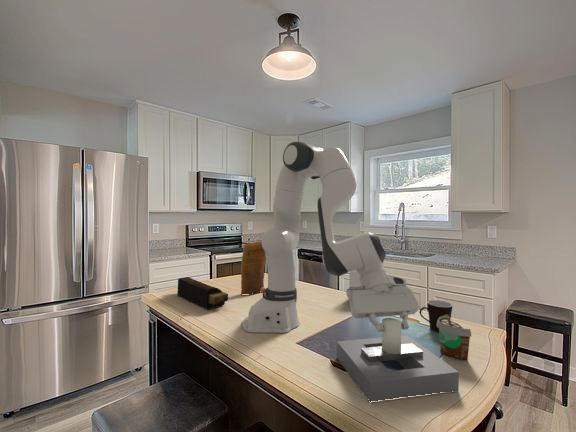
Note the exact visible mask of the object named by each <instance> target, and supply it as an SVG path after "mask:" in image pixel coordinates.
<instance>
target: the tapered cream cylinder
mask: <svg viewBox="0 0 576 432" xmlns="http://www.w3.org/2000/svg"><path fill="white" fill-rule="evenodd" d="M401 322H402V321H401V320H400V319H397V318H392V317H386V318H382V320H381V323H382V324H383V327H384V330H383V331H382V332H381V338H382V350H383V351H385V352H387V353H390V354H399V353H401V336H402V329H401Z"/></svg>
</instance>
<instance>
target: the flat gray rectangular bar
mask: <svg viewBox="0 0 576 432" xmlns="http://www.w3.org/2000/svg"><path fill="white" fill-rule="evenodd" d="M361 354H362V355H363V356H364V357H365V358H366V359H367V360H368V361H369V362H378V361H380V362H385V361H396V360H397V359H407V358H417V357H423V351H422V350H420V349H419V348H418V347H416V346H415V345H414V344H401V353H399V354H390V353H387V352H385V351H383V350H382V346H379V347H368V348H361Z"/></svg>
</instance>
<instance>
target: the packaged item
mask: <svg viewBox="0 0 576 432" xmlns="http://www.w3.org/2000/svg"><path fill="white" fill-rule="evenodd" d="M177 297H178V298H180V299H183V300H185V301H186V302H189V303H192V304H193V305H195V306H198V307H200V308H202V309H204V310H207V311H208V310H211V309H214V308H219V307H222V306H224V305H225V304H226V302H227V301H229V294H228V293H226V292H224V291H222V289H220V288H218V287H215V286H211V285H209V284H206V283H204V282H201V281H198V280H197V279H193V278H192V277H189V276H186V277H180V278H178V279H177Z"/></svg>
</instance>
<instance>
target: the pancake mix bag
mask: <svg viewBox="0 0 576 432" xmlns="http://www.w3.org/2000/svg"><path fill="white" fill-rule="evenodd" d="M241 256H242V257H241V267H240V279H241V280H240V285H241V287H240V289H241V291H240V295H241V294H252V293H256V292H260V291H261V288H262V287H264V288H265V285H264V282H265V279H264V278H265V267H266V264H267V261H266V256H265V251H264V249H263V247H262V240H261V241H255V242H251V243H248V242H247V243H245V245H243V248H242V255H241ZM260 293H261V292H260ZM256 294H257V293H256Z"/></svg>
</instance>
